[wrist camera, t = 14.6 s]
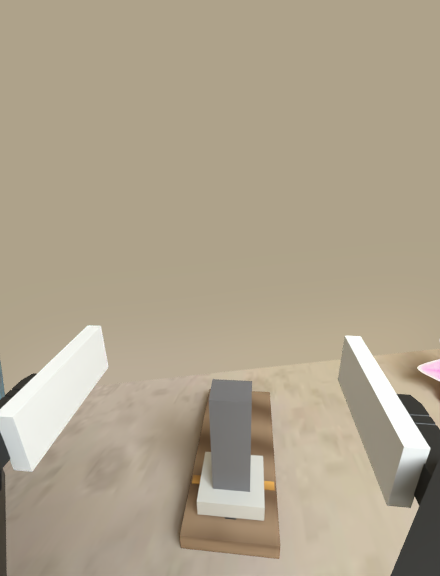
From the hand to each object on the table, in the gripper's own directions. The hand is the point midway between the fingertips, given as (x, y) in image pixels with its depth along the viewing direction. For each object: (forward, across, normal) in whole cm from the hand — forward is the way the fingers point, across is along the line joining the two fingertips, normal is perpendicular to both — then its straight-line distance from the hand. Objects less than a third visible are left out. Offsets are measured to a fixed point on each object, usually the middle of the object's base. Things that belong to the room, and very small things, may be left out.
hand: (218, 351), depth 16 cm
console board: (+16, 0, -27) cm, 31 cm away
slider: (+10, 0, -25) cm, 27 cm away
